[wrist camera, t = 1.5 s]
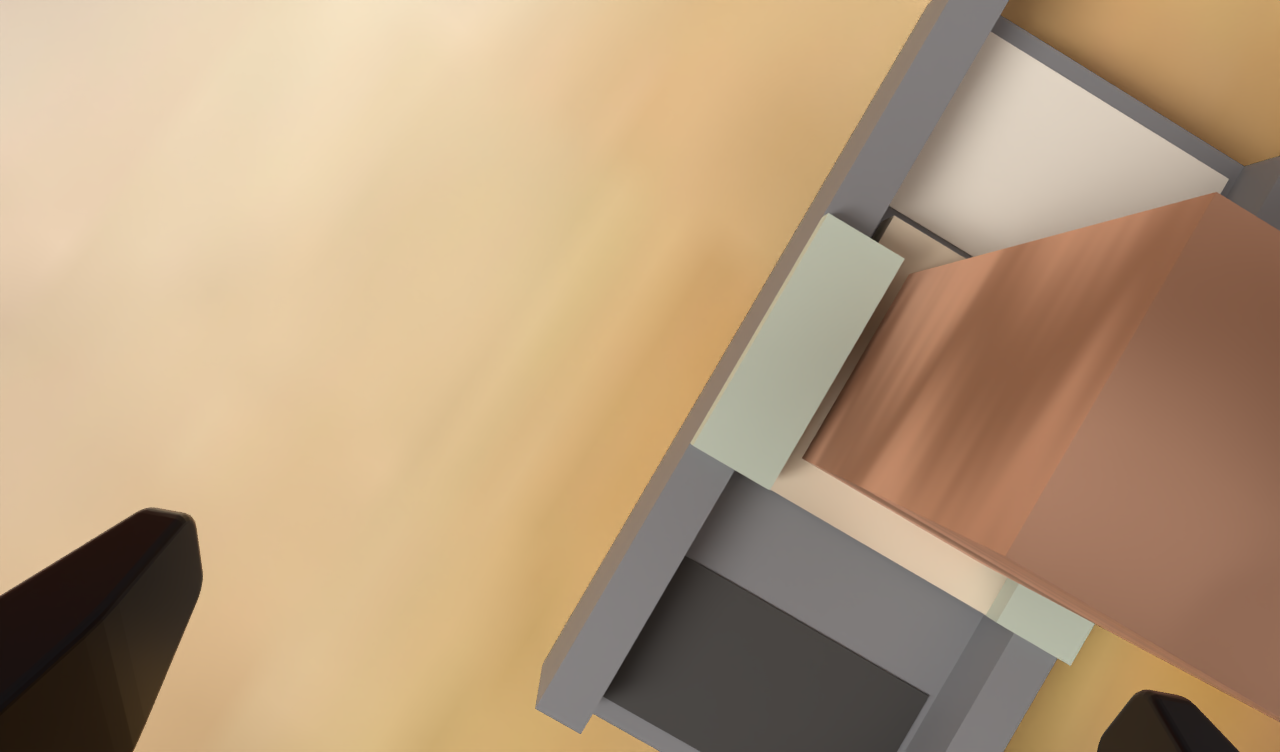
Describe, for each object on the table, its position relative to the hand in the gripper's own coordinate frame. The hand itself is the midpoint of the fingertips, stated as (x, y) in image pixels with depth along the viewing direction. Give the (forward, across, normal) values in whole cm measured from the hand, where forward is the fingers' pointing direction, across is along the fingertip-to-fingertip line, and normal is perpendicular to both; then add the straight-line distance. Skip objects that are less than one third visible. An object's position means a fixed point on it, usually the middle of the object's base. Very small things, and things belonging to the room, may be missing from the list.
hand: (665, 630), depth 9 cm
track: (+14, -7, +8) cm, 18 cm away
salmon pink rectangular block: (+13, -7, +6) cm, 16 cm away
